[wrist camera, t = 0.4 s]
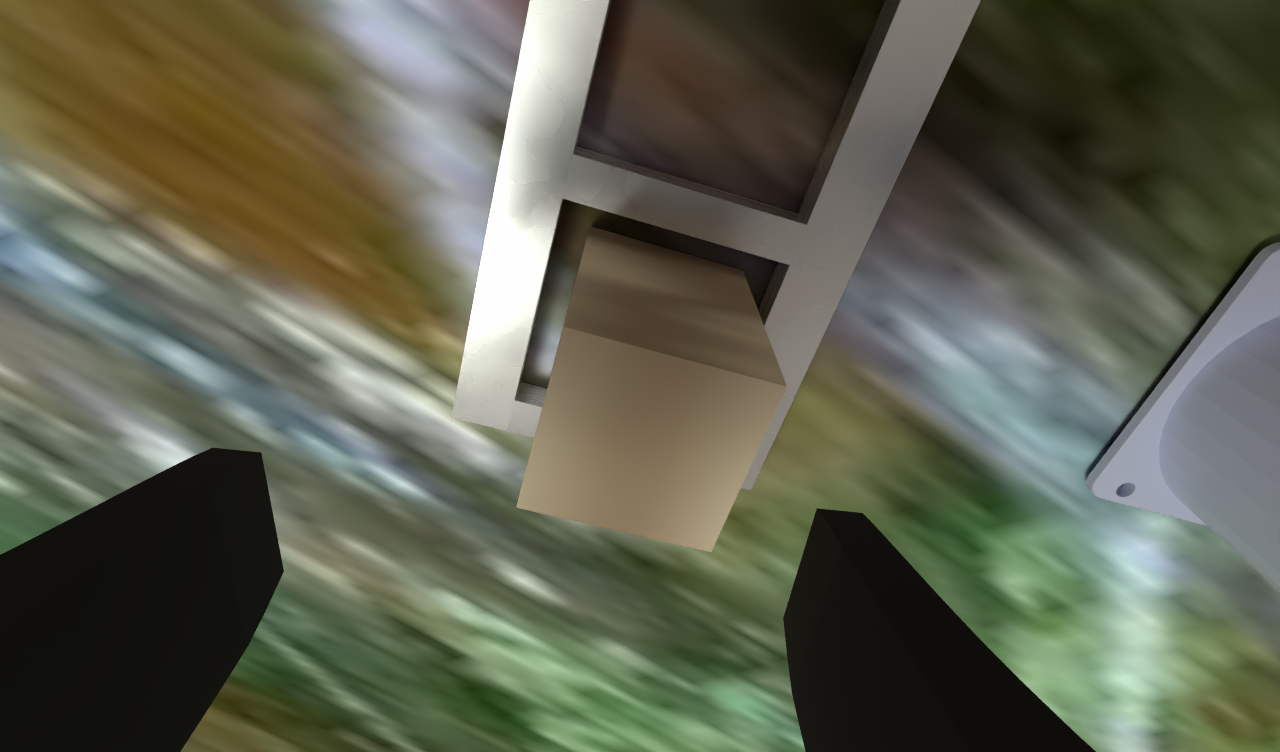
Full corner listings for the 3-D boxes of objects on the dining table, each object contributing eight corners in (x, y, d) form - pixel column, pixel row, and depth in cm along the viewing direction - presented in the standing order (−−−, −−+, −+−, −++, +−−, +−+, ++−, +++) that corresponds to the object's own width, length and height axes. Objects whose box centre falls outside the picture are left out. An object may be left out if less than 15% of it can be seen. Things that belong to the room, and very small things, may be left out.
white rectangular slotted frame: (1215, -558, 10) (1267, -611, 9) (745, 469, 20) (750, 490, 19) (695, -824, 9) (701, -911, 8) (460, 398, 19) (451, 417, 18)
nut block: (742, 270, 17) (787, 386, 12) (692, 400, 19) (711, 551, 13) (589, 226, 16) (563, 326, 11) (553, 364, 18) (516, 507, 13)
